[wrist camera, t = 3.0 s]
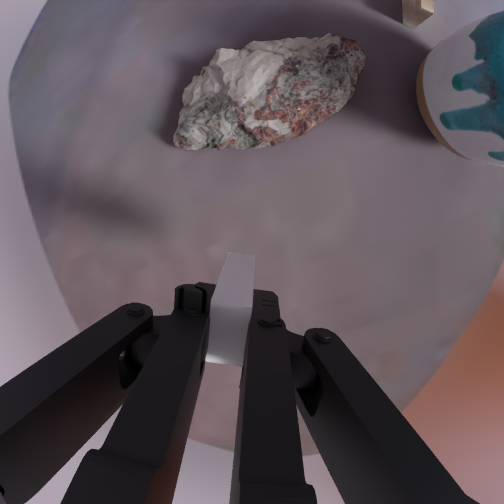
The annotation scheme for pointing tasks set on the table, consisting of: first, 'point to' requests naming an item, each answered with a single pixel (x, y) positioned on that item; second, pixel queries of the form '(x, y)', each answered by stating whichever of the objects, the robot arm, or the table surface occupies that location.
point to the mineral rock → (268, 92)
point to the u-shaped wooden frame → (416, 11)
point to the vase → (467, 91)
